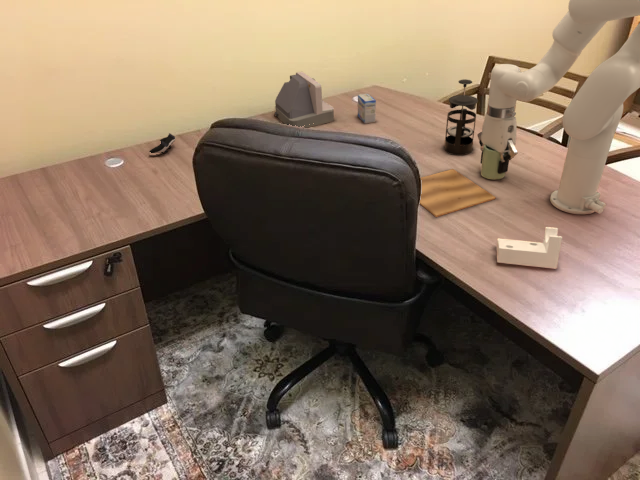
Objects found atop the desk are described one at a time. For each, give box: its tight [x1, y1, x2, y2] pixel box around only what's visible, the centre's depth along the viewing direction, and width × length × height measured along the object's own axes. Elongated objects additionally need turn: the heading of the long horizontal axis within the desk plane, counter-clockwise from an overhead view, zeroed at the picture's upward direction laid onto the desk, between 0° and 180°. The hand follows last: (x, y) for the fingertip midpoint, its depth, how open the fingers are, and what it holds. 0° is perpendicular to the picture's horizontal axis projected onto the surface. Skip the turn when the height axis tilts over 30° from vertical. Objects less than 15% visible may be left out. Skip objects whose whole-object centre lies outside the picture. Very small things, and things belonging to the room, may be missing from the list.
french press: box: [443, 78, 479, 156], centre depth 172 cm, size 12×9×23 cm
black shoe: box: [148, 132, 177, 157], centre depth 187 cm, size 11×4×7 cm
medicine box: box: [357, 93, 377, 124], centre depth 200 cm, size 8×4×9 cm, turn 17°
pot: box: [480, 145, 506, 180], centre depth 159 cm, size 7×7×9 cm
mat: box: [419, 168, 497, 218], centre depth 155 cm, size 20×20×1 cm
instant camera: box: [274, 71, 335, 129], centre depth 203 cm, size 21×21×15 cm
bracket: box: [495, 226, 563, 270], centre depth 125 cm, size 13×7×8 cm, turn 76°
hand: (493, 167), depth 160 cm, fingers closed on pot, 7 cm apart
